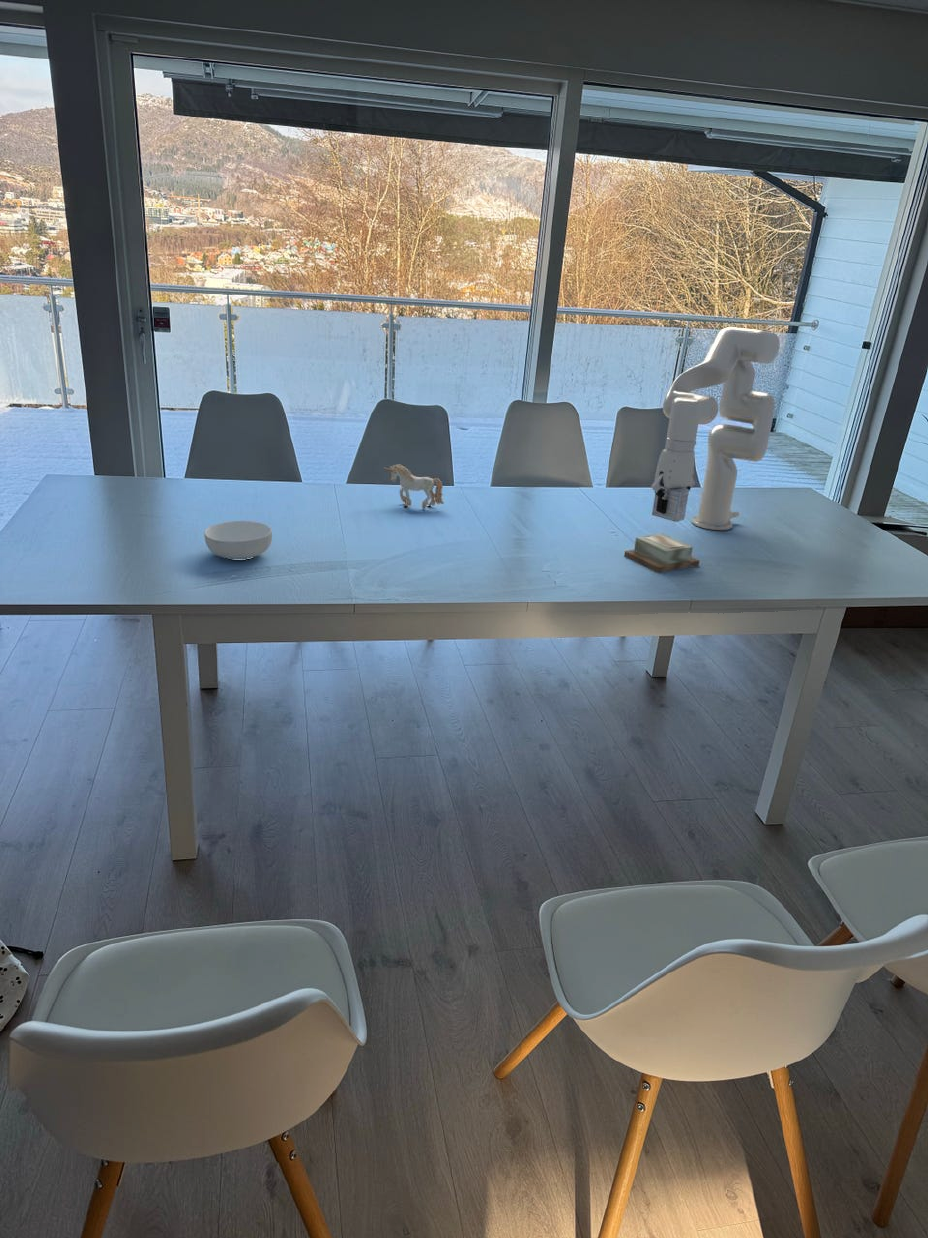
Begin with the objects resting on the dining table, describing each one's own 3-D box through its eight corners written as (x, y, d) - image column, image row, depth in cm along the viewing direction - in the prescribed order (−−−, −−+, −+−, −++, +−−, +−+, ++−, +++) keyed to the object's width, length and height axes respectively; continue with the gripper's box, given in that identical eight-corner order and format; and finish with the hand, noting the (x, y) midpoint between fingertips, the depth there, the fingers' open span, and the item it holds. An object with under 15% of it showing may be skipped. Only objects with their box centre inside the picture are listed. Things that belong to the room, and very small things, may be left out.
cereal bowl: (250, 541, 241) (249, 516, 239) (285, 558, 231) (284, 532, 228) (193, 553, 230) (191, 527, 227) (227, 572, 220) (226, 545, 217)
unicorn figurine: (380, 503, 281) (381, 461, 276) (440, 503, 285) (442, 462, 279) (382, 509, 275) (383, 467, 269) (444, 510, 278) (446, 468, 273)
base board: (663, 549, 257) (667, 530, 254) (698, 565, 246) (702, 546, 243) (624, 556, 249) (627, 536, 247) (658, 572, 238) (661, 552, 236)
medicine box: (684, 520, 241) (690, 489, 238) (675, 522, 238) (681, 491, 235) (660, 512, 246) (665, 482, 243) (651, 515, 243) (656, 484, 240)
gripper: (693, 440, 241) (682, 504, 249) (646, 444, 233) (636, 510, 240) (713, 446, 236) (701, 512, 243) (665, 450, 227) (654, 518, 234)
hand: (669, 510), depth 241 cm, fingers closed on medicine box, 5 cm apart
